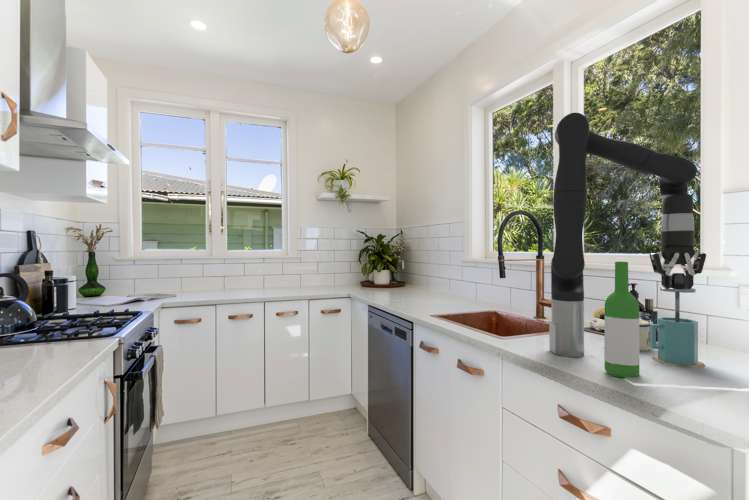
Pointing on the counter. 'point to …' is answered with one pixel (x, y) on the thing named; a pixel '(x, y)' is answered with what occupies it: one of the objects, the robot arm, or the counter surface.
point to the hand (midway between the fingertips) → (677, 287)
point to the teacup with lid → (644, 334)
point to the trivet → (679, 365)
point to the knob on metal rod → (677, 292)
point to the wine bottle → (622, 328)
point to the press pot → (676, 341)
